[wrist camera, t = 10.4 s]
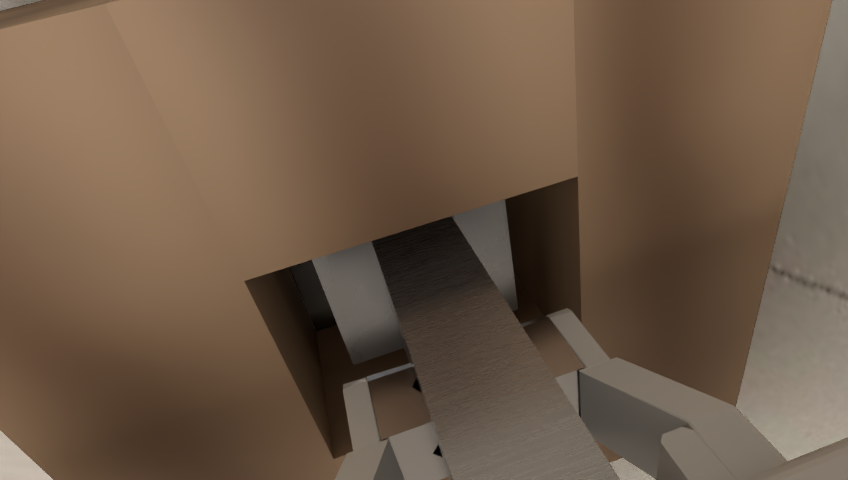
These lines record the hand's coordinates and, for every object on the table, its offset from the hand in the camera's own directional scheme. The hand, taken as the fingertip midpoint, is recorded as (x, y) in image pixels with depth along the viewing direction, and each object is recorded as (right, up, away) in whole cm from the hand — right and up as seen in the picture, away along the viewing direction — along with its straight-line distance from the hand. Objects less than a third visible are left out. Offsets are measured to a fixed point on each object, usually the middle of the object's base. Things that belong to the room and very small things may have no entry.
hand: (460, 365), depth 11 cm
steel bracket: (-1, +2, +3) cm, 4 cm away
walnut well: (-2, +3, +5) cm, 6 cm away
